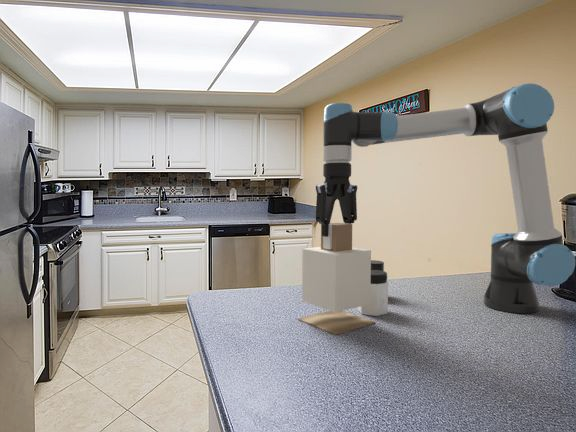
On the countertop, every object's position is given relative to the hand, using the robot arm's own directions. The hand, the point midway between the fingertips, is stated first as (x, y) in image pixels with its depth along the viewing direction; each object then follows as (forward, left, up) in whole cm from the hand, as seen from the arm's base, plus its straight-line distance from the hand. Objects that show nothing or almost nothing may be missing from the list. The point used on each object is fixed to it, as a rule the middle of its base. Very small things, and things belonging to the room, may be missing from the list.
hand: (336, 247), depth 113 cm
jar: (0, -15, -21) cm, 26 cm away
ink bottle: (+11, -29, -21) cm, 37 cm away
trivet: (0, 0, -21) cm, 21 cm away
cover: (0, 0, -15) cm, 15 cm away
